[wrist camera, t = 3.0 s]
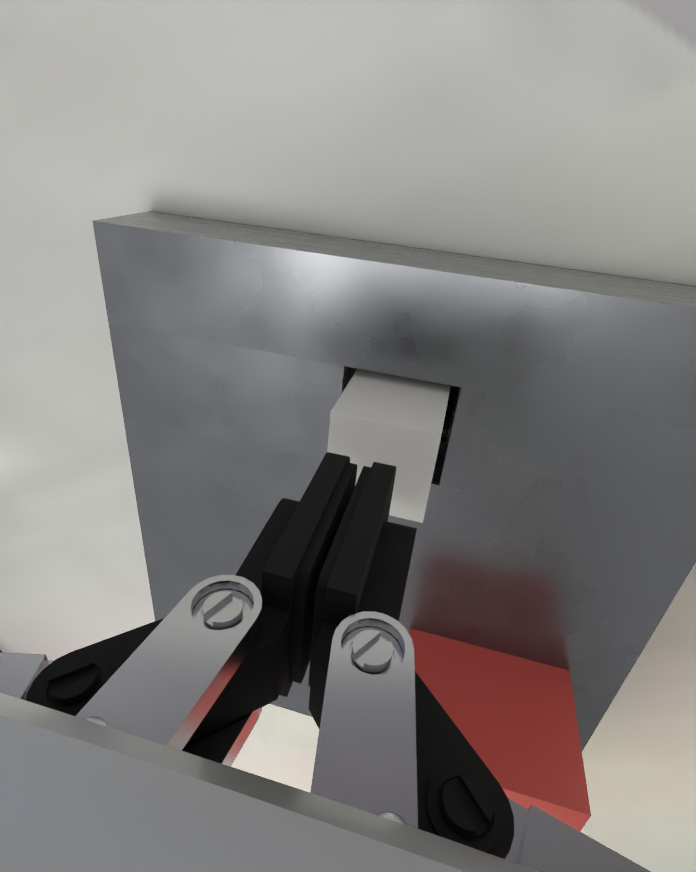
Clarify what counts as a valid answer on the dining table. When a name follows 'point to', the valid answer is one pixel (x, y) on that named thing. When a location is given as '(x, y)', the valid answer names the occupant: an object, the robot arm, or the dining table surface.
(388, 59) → the dining table surface
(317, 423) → the board
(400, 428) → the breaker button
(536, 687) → the red block
